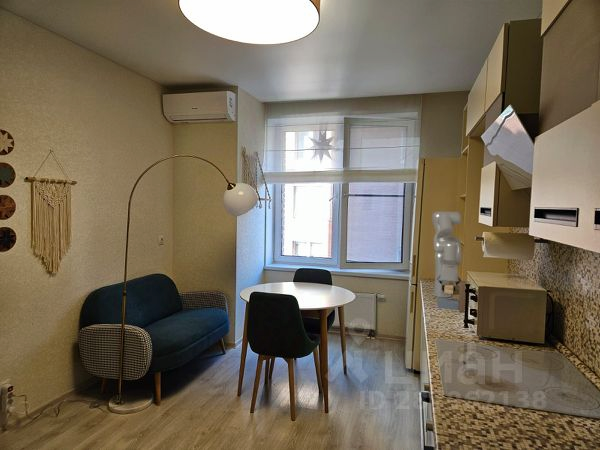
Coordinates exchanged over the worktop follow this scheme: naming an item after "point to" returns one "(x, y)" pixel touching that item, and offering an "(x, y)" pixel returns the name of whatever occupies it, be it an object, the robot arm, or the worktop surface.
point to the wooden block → (462, 296)
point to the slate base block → (448, 303)
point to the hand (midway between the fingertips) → (448, 291)
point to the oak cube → (448, 288)
